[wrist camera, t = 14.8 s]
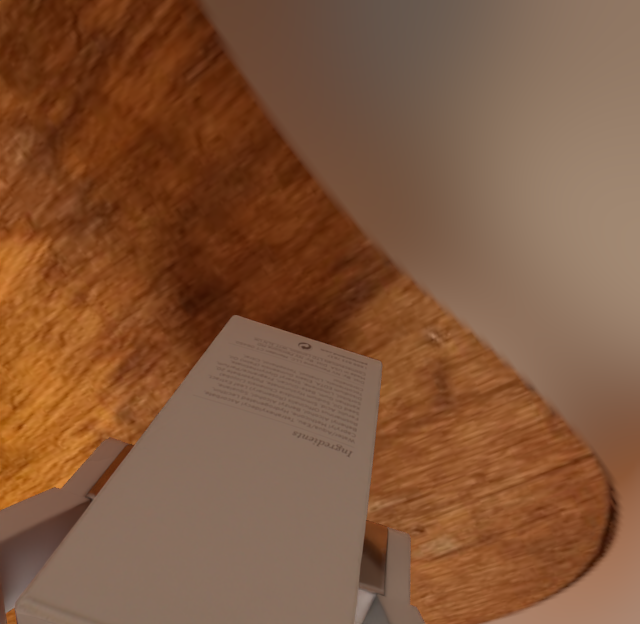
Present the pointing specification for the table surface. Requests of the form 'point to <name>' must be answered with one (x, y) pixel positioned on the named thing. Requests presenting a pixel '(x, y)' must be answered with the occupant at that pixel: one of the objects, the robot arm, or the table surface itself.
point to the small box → (230, 496)
